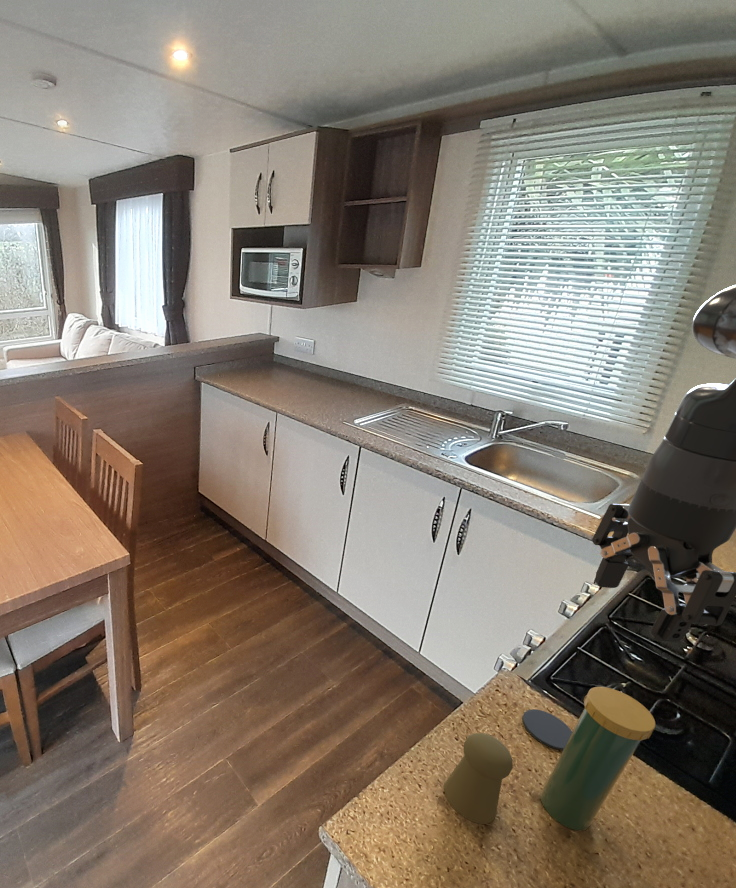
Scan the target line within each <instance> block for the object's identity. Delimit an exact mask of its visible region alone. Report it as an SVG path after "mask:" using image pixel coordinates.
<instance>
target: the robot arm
mask: <svg viewBox="0 0 736 888" xmlns="http://www.w3.org/2000/svg"><path fill="white" fill-rule="evenodd" d="M691 330H692V335H693V337H694V338H695V340H696V342H697V343H698V344H699V345H700V346H702V348H705V350H707V351H709V352H712V353H714V354H716V355H720V356H723V357H727V358H731V359H735V360H736V284H734V285H732V286H729V287H727V288H724V289H723V290H721V291H719V292H717V293H716V294H715V295H713V296H711V297H710V298H709V299H708V300H706V301H705V302H704V303H703V304H702V305H701V306H700V307H699V309H698V310H697V311H696V313H695V315H694V317H693V320H692V326H691ZM735 530H736V378H734V379H733V380H732V381H731V382H730V383H718V382H717V383H716V382H715V383H706V384H699V385H697V386H695V387H693V388H691V389H690V390H689V391H687V392H686V394H684V396H683V398H682V399H681V401H680V403H679V405H678V407H677V408H676V411H675V413H674V415H673V417H672V420H671V422H670V423H669V426H668V428H667V431H666V432H665V435H664V437H663V439H662V441H661V442H660V444H659V446H658V447H657V448H656V450H655V451H654V453H653V454H652V456H651V458H650V460H649V462H648V464H647V466H646V468H645V470H644V472H643V474H642V476H641V479H640V481H639V483H638V485H637V488H636V490H635V492H634V495H633V497H632V498H631V501H630V503H629V504H627V503H610V504H609V505H608V507H607V509H606V511H605V513H604V514H603V516H602V519H601V520H600V522H599V525H598V526H597V528H596V530H595V532H594V534H593V536H592V538H591V541H592V543H593V545H595V546H599V547H600V555H601V557H602V559H601V560H600V563H599V565H598V567H597V570H596V572H595V577H594V583H595V584H596V585H597V586H598V587H599V588H607V589H616V588H618V587H619V586H620V584H621V582H622V579H624V578H623V577H624V576H625V574H626V571H627V569H628V567H629V563H628V561H630V560H633V561H635V562H636V563H638V564H640V565H642V566H644V568H645V570H647V572H649V574H651V575H652V576H653V577H654V582H655V587H656V589H657V590H658V591H660V592H661V593H662V600H663V606H664V608H662V609H661V610H660V612H659V614H658V616H657V618H656V619H655V621H654V623H653V625H652V627H651V629H650V630H649V635H650V636H651V637H652V638H653V639H654V640H655V641H658V642H659V641H660V642H670V643H672V642H681V641H682V640H683V639H684V637H685V636H686V634H687V632H688V631H689V629H690V627H691V626H692V624H695V625H707V626H708V625H709V626H721V625H723V623H724V621H725V618H726V617H727V614H728V613H729V611H730V609H731V607H732V605H733V603H734V601H735V600H736V571H725V570H723V568H720V567H719V566H717V565H715V564H714V563H713V554H714V551H715V549H717V548H719V547H720V546H722V545H724V544H725V543H727V542H728V541H729V540H730V539H731V538H732V536H733V535H734V532H735ZM612 532H613V533H612ZM611 533H612V535H611V536H609V534H611ZM682 578H685V583H684V584H678V583H674V582H673V580H672V579H682ZM679 593H682V594H683V598H684V603H680V598H679ZM706 608H707V610H706Z"/></svg>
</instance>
